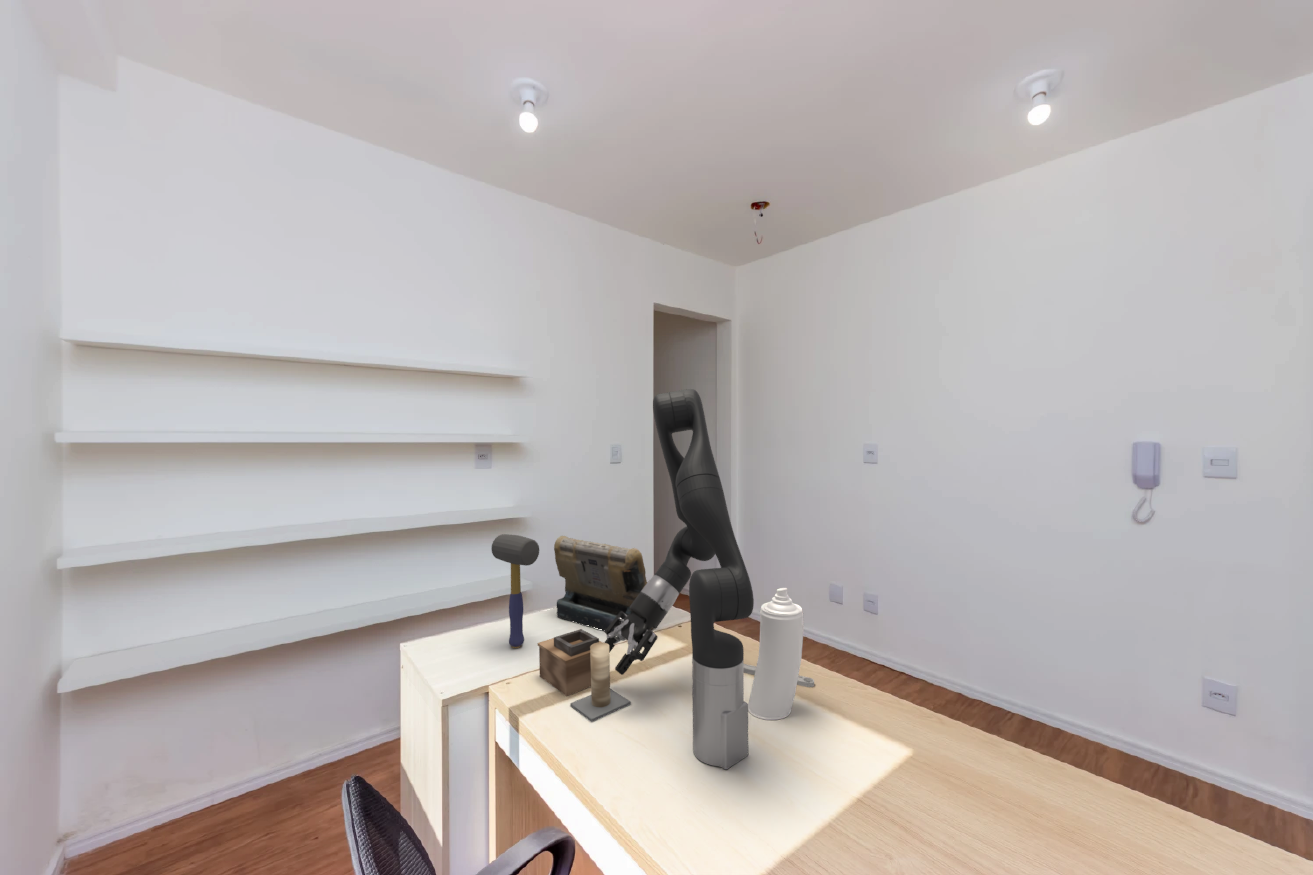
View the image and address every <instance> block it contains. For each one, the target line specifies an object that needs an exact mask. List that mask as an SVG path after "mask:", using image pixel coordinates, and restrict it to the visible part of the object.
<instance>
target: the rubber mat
mask: <svg viewBox="0 0 1313 875" xmlns="http://www.w3.org/2000/svg"><path fill="white" fill-rule="evenodd" d="M630 705H632V701H631V700H629V699H628V698H627V697H625V696H623V695H622V694H620V693H619V692H617V691H615V690H614V689H612V688H611V687H610V704H609V705H607V706H605V707H595V706H593V705H592V702H591V694H590V695H586V696H585V697H582V698H579V699H578V700H575V701H573V702H570V705H569V706H570V707H571V708H572V709H573V710H575V711H576V712H578V713H579V715H582V716H583V717H584V718H585V719H587V721H589V722H591V723H593V722H596V721H598V720H600V719H602V718H604V717H606V716H608V715H610V714H612V713H615V712H618V711H619V710H621V709H623V708H626V707H628V706H630Z"/></svg>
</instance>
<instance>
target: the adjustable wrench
mask: <svg viewBox="0 0 1313 875" xmlns="http://www.w3.org/2000/svg"><path fill="white" fill-rule="evenodd" d="M756 666H757V665H751V664H748V663H744V674H747V675H751V676H755V671H756ZM797 686H801V687H806V688H813V687H814V686H815V679H814V678H812V677H808V676H803V675H798V681H797Z"/></svg>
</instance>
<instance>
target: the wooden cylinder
mask: <svg viewBox="0 0 1313 875" xmlns="http://www.w3.org/2000/svg"><path fill="white" fill-rule="evenodd" d="M604 642H605V641H601V642H598V643H594V644H592V645H591V646H590V658H591V687H590V689H591V690H590V692H591V694H590V695H591V702H592V705H593V706H595V707H605V706H607V705H609V704H610V688H611V665H610V664H611V662H610V656H611V655H610V653H609V644H607V643H604Z"/></svg>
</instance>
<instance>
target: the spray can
mask: <svg viewBox="0 0 1313 875" xmlns="http://www.w3.org/2000/svg"><path fill="white" fill-rule="evenodd" d="M760 606H761V607H760V610H759V617H760V618H759V619H760V624H759V644H758V645H759V646H758V656H757V662H756V665H755V666H756V671H755V675H753V682H752V686H751V691H750V695H749V698H748V702H747V703H748V713H750V714H751V716H753V717H755V718H758V719H761V720H767V721H777V720H782V719H785V718H786V717H788V716H789V715H790V714H791V712H792V709H793V708H792V707H793V704H794V701H795V700H794V699H795V696H796V691H797V686H798V685H797V681H798V675H799V674H800V668H801V665H802V654H803V642H804V630H805V629H804V628H805V622H804V621H805V620H804V613H803V608H802V607H801V605H799V604H797V603H794V602H793V599H792V598H790V595H789V594H788V588H787V587H780V588H778V589H776V593H775V594H774V596H773V597H771V600H770V601H768V602H765V603H762V604H761V605H760Z"/></svg>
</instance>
